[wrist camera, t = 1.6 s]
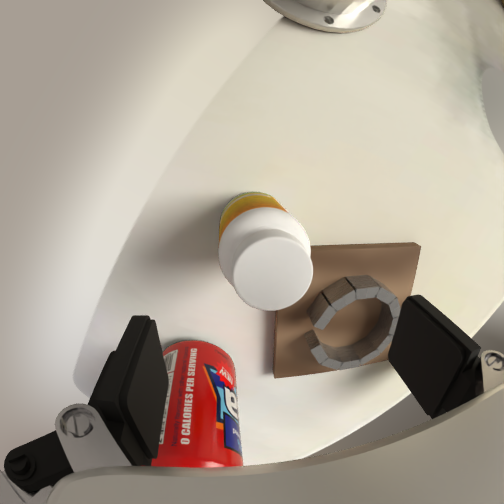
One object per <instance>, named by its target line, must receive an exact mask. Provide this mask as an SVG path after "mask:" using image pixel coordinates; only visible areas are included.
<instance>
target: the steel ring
mask: <svg viewBox="0 0 504 504" xmlns="http://www.w3.org/2000/svg"><path fill="white" fill-rule="evenodd" d="M322 291H323V293H322V292H320V293H319V294H318V295H317V297H316V298H315V300H314V301H313V302H312V304H311V305H310V307H309V308H308V309H307V311H306V312H307V314H308V316H309V318H310V320H311V322H312V324H313V326H314V327H316V328H319V329H321V330H323V329H324V328H325V327H326V325H327V324H328V323H329V321H330V320H331V319H332V317H333V316H334V315H335V313H336V312H337V311H339V310H340V309H342V308H344V307H345V306H347V305H349V304H350V303H352V302H353V301H355V300H358V299H367V298H375V297H376V298H378V299H379V300H380V302H381V305H382V307H381V311H380V315H379V319H378V322H377V323H376V325H375V326H374V327H373V328H372V330H371V331H370V332H369V333H368V335H367V336H365V337H364V338H362V339H360V340H359V341H357V342H355V343H354V344H352V345H347V346H341V347H332V346H330V345H327V344H324V343H322V342H321V341H320V340H319V338H318V336H317V335H316V333H315V331H314V330H313V329H312V330H310V331H309V332H307V333H305V334H304V336H305V338H306V341H307V343H308V346H309V348H310V350H311V352H312V354H313V355H314V357H315V358H316V360H317V361H318V363H319V364H320V365H322V366H326V367H329V368H332V369H335V370H338V369H339V370H343V369H349V368H354V367H359V366H360V365H361V366H362V365H363V364H365V363H367V362H368V361H370V360H372V359H373V358H375V357H377V356H378V355H380V353H382V352H383V351H384V350H385V348H386V347H387V346H388V345H389V343H390V342H391V341H392V339H393V336H394V332H395V329H396V325H397V322H398V318H399V314H400V310H401V309H400V305H399V301H398V298H397V297H396V295H395V294H394V293H393V292H392V291H390V290H389V289H388V288H387V287H386V286H385V285H384V284H383V283H381V282H379V281H378V280H376V279H375V278H373V277H371V276H370V275H369V276H368V275H358V276H346V277H345V278H344V277H343V278H341V279H339V280H338V281H336V282H334V283H333V284H331V285H329V286H328V287H326V288H324V289H323V290H322ZM379 352H380V353H379Z"/></svg>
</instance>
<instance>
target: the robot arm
mask: <svg viewBox="0 0 504 504" xmlns="http://www.w3.org/2000/svg"><path fill="white" fill-rule="evenodd" d="M263 1H264V2H265V3H266V4H268V5H269V6H270V7H272V8H273V9H274V10H275V11H277V12H278V13H280V14H282V15H283V16H285V17H287V18H288V19H291V20H293V21H295V22H297V23H299V24H302V25H305V26H308V27H311V28H314V29H318V30H323V31H327V32H338V33H347V32H356V31H359V30H363V29H365V28H367V27H369V26H371V25H372V24H374V23H375V22H376V21H378V20H379V19H380V18H381V17H382V15H383V14H384V11H385V8H386V1H387V0H263ZM480 349H481V347H480V346H479V345H478V344H477V343H476V342H474V341H473V340H472V339H471V338H470V337H469V336H468V335H467V334H466V333H465V332H463V331H462V330H461V329H460V328H459V327H458V326H457V325H456V324H454V323H453V322H452V321H451V320H450V319H449V318H448V317H446V316H445V315H444V314H443V313H442V312H441V311H439V310H438V309H437V308H436V307H435V306H433V305H432V304H431V303H430V302H429V301H427V300H426V299H425V298H424V297H423V296H421V295H413V296H408V297H407V298H406V299H405V301H403V303H402V306H401V310H400V314H399V318H398V322H397V325H396V329H395V332H394V336H393V339H392V342H391V346H390V349H389V352H388V359H389V362H390V363H391V364H392V366H393V367H394V369H395V370H396V371H397V373H398V374H399V376H400V377H401V378H402V380H403V381H404V383H405V384H406V385H407V387H408V388H409V390H410V391H411V393H412V394H413V395H414V396H415V398H416V400H417V401H418V403H419V404H420V405H421V407H422V408H423V410H424V411H425V413H426V414H427V415H430V416H431V418H432V420H430V421H427V422H425V423H422V424H420V425H418V426H415V427H413V428H410V429H408V430H405V431H402V432H400V433H397V434H394V435H392V436H388V437H386V438H383V439H380V440H377V441H373V442H370V443H367V444H363V445H360V446H356V447H353V448H349V449H345V450H341V451H338V452H333V453H328V454H324V455H319V456H314V457H309V458H304V459H298V460H292V461H285V462H278V463H270V464H260V465H249V466H233V467H208V468H190V467H155V466H151V463H152V459H156V458H157V456H158V449H159V442H160V435H161V428H162V422H163V415H164V409H165V403H166V397H167V391H168V386H169V378H168V373H167V369H166V365H165V361H164V357H163V353H162V349H161V345H160V340H159V336H158V331H157V326H156V322H155V320H150V317H149V316H132V318H131V320H130V322H129V324H128V326H127V328H126V330H125V332H124V334H123V336H122V338H121V341H120V343H119V345H118V347H117V349H116V351H112V352H111V353H110V355H109V357H108V359H107V361H106V363H105V366H104V368H103V370H102V372H101V374H100V377H99V379H98V381H97V383H96V386H95V388H94V390H93V393H92V395H91V397H90V400H89V403H88V405H86V404H74V405H70V406H68V407H66V408H64V409H63V410H62V411H61V412H60V413H59V414H58V416H57V418H56V422H55V427H56V430H55V431H54V432H51V433H49V434H47V435H45V436H43V437H40V438H38V439H36V440H33V441H31V442H29V443H27V444H24V445H22V446H19V447H17V448H15V449H13V450H11V451H10V452H9V453H8V455H7V456H6V459H5V462H4V468H5V470H4V471H3V472H2V471H1V470H0V504H504V355H503V354H502V353H500V352H497V351H494V350H487V351H485V352H483V353H482V355H481V357H480V358H479V357H478V354H479V351H480ZM446 412H447V413H446Z"/></svg>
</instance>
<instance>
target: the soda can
mask: <svg viewBox="0 0 504 504" xmlns="http://www.w3.org/2000/svg"><path fill="white" fill-rule="evenodd" d="M163 357H164V361H165V365H166V369H167V373H168V378H169V386H168V391H167V397H166V403H165V409H164V415H163V422H162V428H161V435H160V442H159V449H158V456H157V458H156V459H152V463H151V466H155V467H190V468H208V467H233V466H243V458H242V447H241V436H240V425H239V412H238V400H237V387H236V374H235V367H234V363H233V361H232V359H231V358H230V356H229V355H228V354H227V353H226V352H225V351H224V350H222V349H221V348H219V347H217V346H215V345H213V344H211V343H208V342H204V341H197V340H188V341H181V342H178V343H175V344H173V345H171V346H169V347H168V348H166V349H165V350H164V351H163Z"/></svg>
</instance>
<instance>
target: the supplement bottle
mask: <svg viewBox="0 0 504 504" xmlns="http://www.w3.org/2000/svg"><path fill="white" fill-rule="evenodd" d="M310 255H311V247H310V241H309V238H308V235H307V233H306V231H305V229H304V228H303V226H302V225H301V224H300V222H299V221H298V220H297V219H296V218H295V217H294V216H293V215H292V214H291V213H290V212H289V211H288V210H287V209H286V208H285V207H284V206H283V205H282V204H281V203H280V202H279V201H278V200H276V199H275V198H274V197H272V196H270V195H268V194H265V193H262V192H247V193H243V194H241V195H239V196H237V197H235V198H234V199H232V200H231V201H230V202H229V203H228V204H227V206H226V207H225V209H224V210H223V212H222V215H221V219H220V226H219V247H218V256H219V263H220V267H221V270H222V272H223V274H224V276H225V278H226V279H227V280H228V282H229V283H230V284H231V285H232V286H233V287H234V288H235V291H236V293H237V294H238V296H239V297H240V298H241V299H242V300H243V301H244V302H245V303H246V304H248V305H249V306H251V307H254V308H256V309H260V310H265V311H275V310H280V309H283V308H286V307H289V306H291V305H293V304H294V303H296V302H297V301H298V300H299V299H301V298H302V297H303V295H304V294H305V293H306V291H307V290H308V288H309V286H310V284H311V281H312V277H313V265H312V261H311V258H310Z"/></svg>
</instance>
